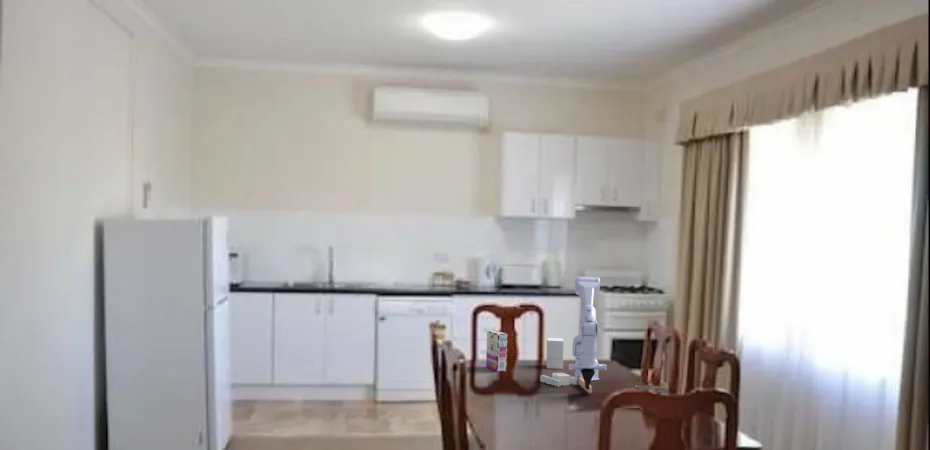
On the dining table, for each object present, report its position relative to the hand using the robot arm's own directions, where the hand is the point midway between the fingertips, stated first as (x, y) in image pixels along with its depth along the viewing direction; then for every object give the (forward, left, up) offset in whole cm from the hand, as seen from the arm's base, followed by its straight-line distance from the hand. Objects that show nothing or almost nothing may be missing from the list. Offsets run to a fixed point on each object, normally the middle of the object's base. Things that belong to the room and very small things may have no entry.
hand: (587, 388), depth 286 cm
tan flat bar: (-4, -6, -2) cm, 7 cm away
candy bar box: (+6, -52, -2) cm, 53 cm away
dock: (-2, -20, -2) cm, 20 cm away
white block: (-2, -18, -2) cm, 19 cm away
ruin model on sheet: (-9, +25, -3) cm, 26 cm away
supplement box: (-21, -45, -2) cm, 50 cm away
